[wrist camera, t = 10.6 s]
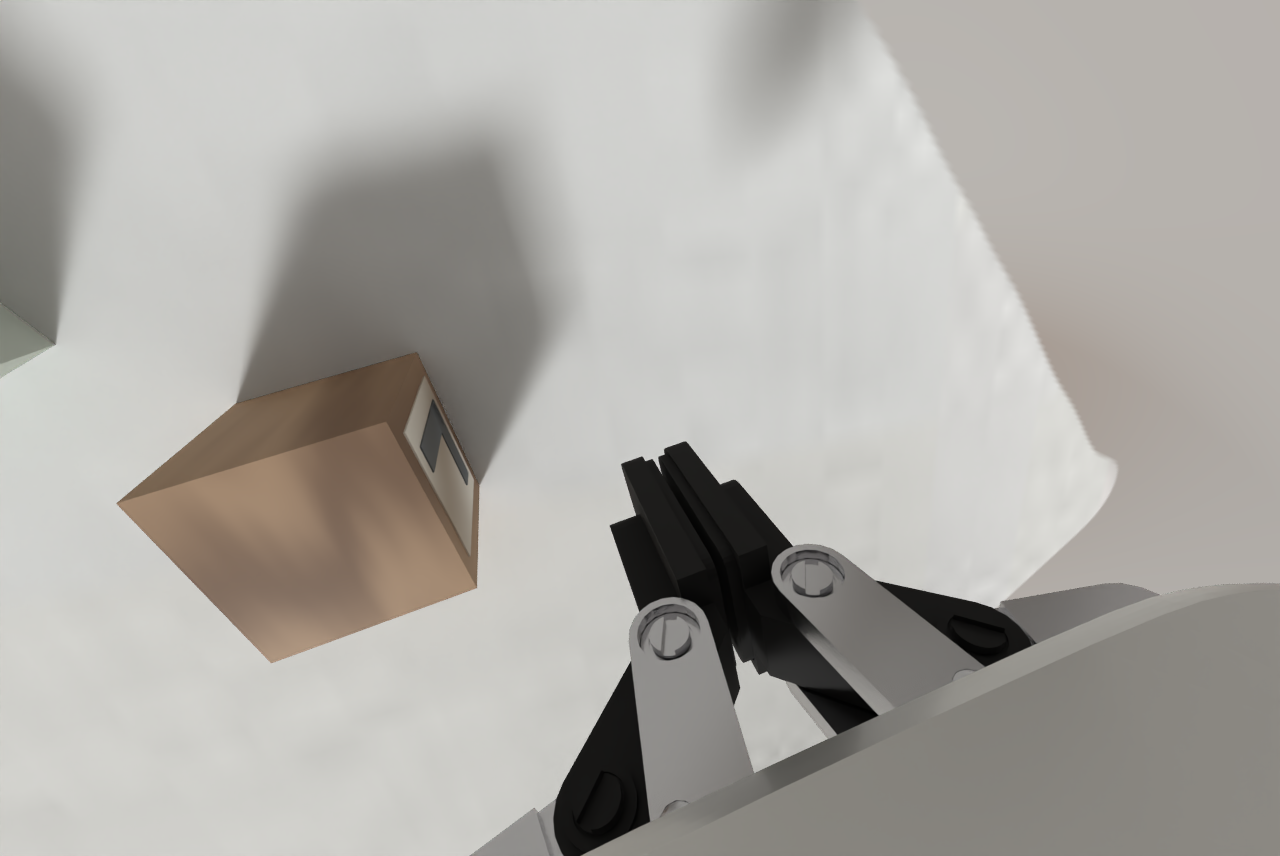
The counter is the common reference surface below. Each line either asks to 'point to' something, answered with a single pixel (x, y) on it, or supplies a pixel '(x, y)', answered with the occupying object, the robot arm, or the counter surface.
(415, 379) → the walnut block
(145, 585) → the counter surface
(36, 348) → the sage block
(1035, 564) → the counter surface
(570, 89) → the counter surface
